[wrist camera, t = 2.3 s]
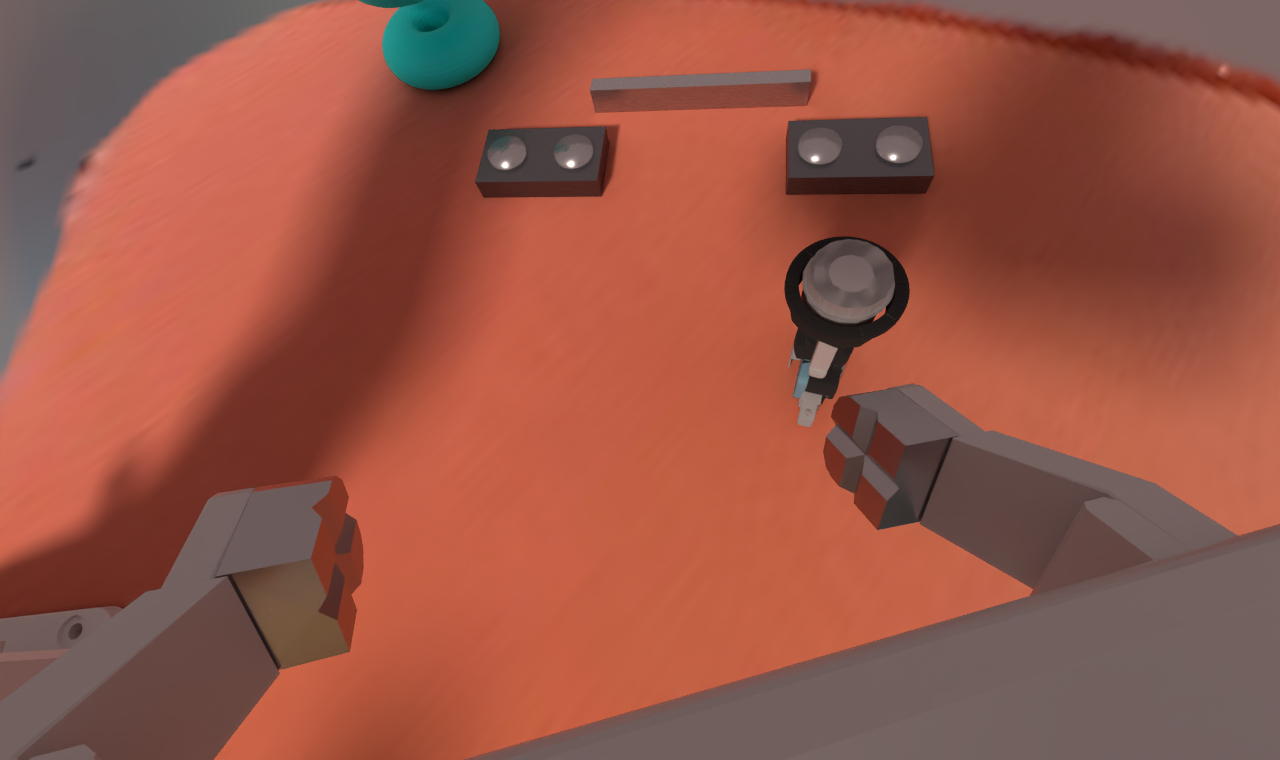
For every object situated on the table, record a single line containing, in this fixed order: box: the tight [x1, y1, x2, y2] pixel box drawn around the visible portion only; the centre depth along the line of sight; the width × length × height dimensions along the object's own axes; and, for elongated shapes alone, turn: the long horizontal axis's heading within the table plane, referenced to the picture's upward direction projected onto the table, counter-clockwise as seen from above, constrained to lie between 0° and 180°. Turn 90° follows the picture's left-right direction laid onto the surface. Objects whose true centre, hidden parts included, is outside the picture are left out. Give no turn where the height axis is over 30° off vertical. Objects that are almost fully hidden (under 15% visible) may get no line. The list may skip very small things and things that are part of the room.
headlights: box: [475, 70, 934, 197], centre depth 40 cm, size 31×9×2 cm, turn 85°
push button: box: [785, 237, 910, 427], centre depth 28 cm, size 7×5×10 cm
